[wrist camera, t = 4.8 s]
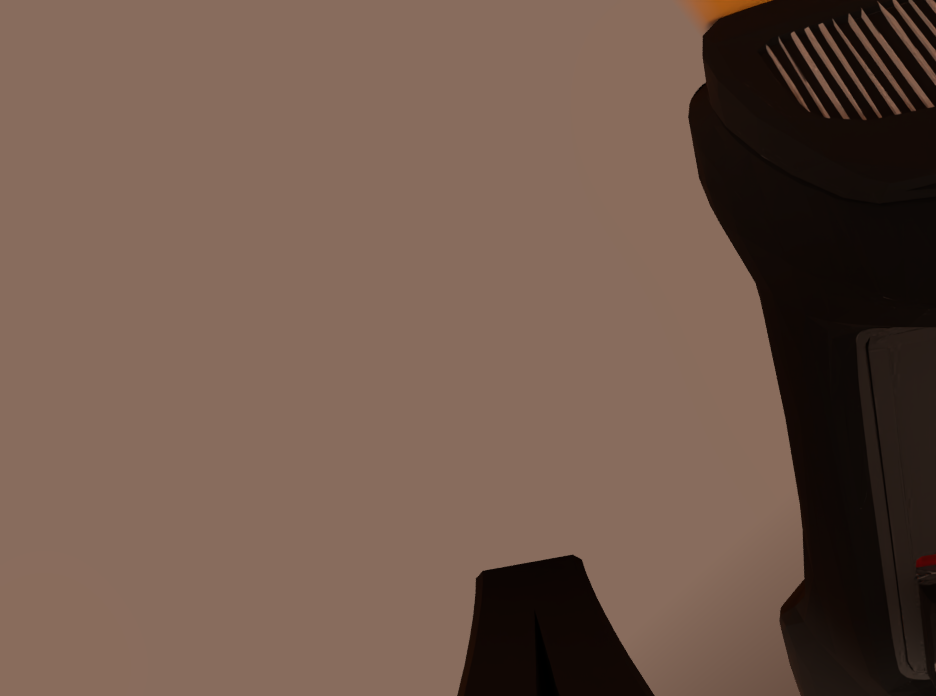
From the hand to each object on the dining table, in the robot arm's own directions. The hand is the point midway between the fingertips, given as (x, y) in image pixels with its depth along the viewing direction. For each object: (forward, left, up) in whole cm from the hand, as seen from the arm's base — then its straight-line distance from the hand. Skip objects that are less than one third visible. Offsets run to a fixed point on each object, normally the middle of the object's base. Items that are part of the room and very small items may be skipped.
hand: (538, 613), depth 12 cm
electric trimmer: (0, -5, -1) cm, 5 cm away
